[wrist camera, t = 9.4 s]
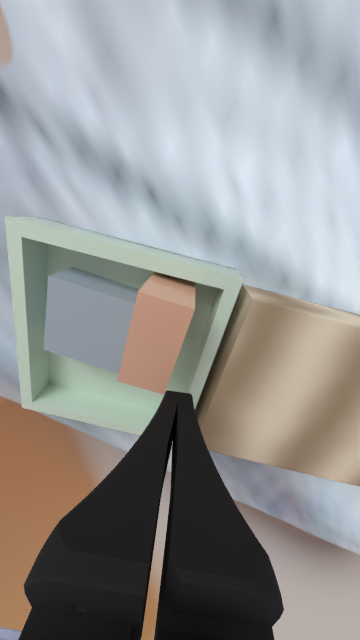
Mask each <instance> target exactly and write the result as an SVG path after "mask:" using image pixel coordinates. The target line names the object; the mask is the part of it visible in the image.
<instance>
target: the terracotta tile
mask: <svg viewBox="0 0 360 640" xmlns="http://www.w3.org/2000/svg"><path fill="white" fill-rule="evenodd" d="M195 290H196V282H193V281H189V280H185V279H181V278H177V277H174V276H170V275H166V274H162V273H158V272H154V273H153V274H152V275H151V277H150V278H149V279H148V280H147V281H146V283H145V284H144V285H143V286H142V287H141V288H140V290H139V291H138V293H137V298H136V302H135V306H134V311H133V315H132V319H131V323H130V328H129V332H128V336H127V340H126V345H125V349H124V353H123V358H122V362H121V366H120V370H119V375H118V379H117V381H118V382H122V383H125V384H128V385H132V386H135V387H139V388H142V389H146V390H149V391H153V392H156V393H160V394H163V395H164V393H165V390H166V387H167V385H168V382H169V379H170V377H171V374H172V371H173V368H174V366H175V363H176V360H177V357H178V355H179V352H180V349H181V346H182V344H183V341H184V338H185V336H186V333H187V330H188V327H189V325H190V322H191V319H192V316H193V314H194V311H195Z"/></svg>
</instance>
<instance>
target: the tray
mask: <svg viewBox="0 0 360 640" xmlns="http://www.w3.org/2000/svg"><path fill="white" fill-rule="evenodd" d="M5 226H6V237H7V248H8V259H9V270H10V281H11V292H12V303H13V314H14V325H15V336H16V347H17V358H18V369H19V380H20V391H21V402H22V408H26V409H30V410H34V411H39V412H43V413H47V414H51V415H56V416H60V417H64V418H68V419H72V420H77V421H81V422H85V423H89V424H94V425H98V426H102V427H106V428H110V429H115V430H119V431H123V432H127V433H132V434H136V435H140V436H141V434H142V433H143V432H144V430H145V429H146V427H147V426H148V424H149V423H150V421H151V419H152V418H153V416H154V414H155V413H156V411H157V409H158V407H159V405H160V403H161V401H162V399H163V397H164V395H163V394H160V393H156V392H153V391H149V390H146V389H142V388H139V387H135V386H132V385H128V384H125V383H122V382H118V381H117V379H118V375H119V373H117V372H113V371H110V370H107V369H104V368H101V367H97V366H94V365H91V364H88V363H84V362H81V361H78V360H75V359H71V358H68V357H65V356H62V355H58V354H55V353H52V352H49V351H45V350H44V334H45V319H46V303H47V287H48V275H51V274H54V273H57V272H59V271H62V270H65V269H68V268H71V267H75V268H78V269H81V270H84V271H87V272H90V273H93V274H96V275H99V276H102V277H105V278H108V279H111V280H114V281H117V282H120V283H123V284H126V285H129V286H132V287H135V288H138V289H140V288H141V287H142V286H143V285H144V284H145V283H146V281H147V280H148V279H149V278H150V277H151V275H152V274H153V273H154V272H158V273H162V274H166V275H170V276H174V277H177V278H181V279H185V280H189V281H193V282H196V290H195V311H194V314H193V316H192V319H191V322H190V325H189V327H188V330H187V333H186V336H185V338H184V341H183V344H182V346H181V349H180V352H179V355H178V357H177V360H176V363H175V366H174V368H173V371H172V374H171V377H170V379H169V382H168V385H167V387H166V390H165V392H166V391H167V390H169V391H176V392H183V393H190V394H191V395H192V397H193V404H194V409H195V408H196V405H197V403H198V400H199V397H200V395H201V392H202V389H203V387H204V384H205V381H206V379H207V376H208V373H209V371H210V368H211V365H212V363H213V360H214V357H215V355H216V352H217V349H218V347H219V344H220V341H221V339H222V336H223V333H224V331H225V328H226V325H227V323H228V320H229V317H230V315H231V312H232V309H233V307H234V304H235V301H236V299H237V296H238V293H239V291H240V288H241V285H242V283H243V280H244V279H243V278H242V276H241V275H240V274H239V272H238V271H237V270H236V269H232V268H228V267H224V266H221V265H217V264H213V263H209V262H205V261H202V260H198V259H194V258H190V257H187V256H183V255H179V254H175V253H171V252H168V251H164V250H160V249H156V248H152V247H149V246H145V245H141V244H137V243H134V242H130V241H126V240H122V239H118V238H115V237H111V236H107V235H103V234H99V233H96V232H92V231H88V230H84V229H81V228H77V227H73V226H69V225H65V224H62V223H58V222H54V221H50V220H46V219H43V218H39V217H11V216H5ZM164 394H165V393H164ZM172 443H173V441H172Z"/></svg>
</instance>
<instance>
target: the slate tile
mask: <svg viewBox="0 0 360 640" xmlns="http://www.w3.org/2000/svg"><path fill="white" fill-rule="evenodd" d="M139 290H140V289H138V288H135V287H132V286H129V285H126V284H123V283H120V282H117V281H114V280H111V279H108V278H105V277H102V276H99V275H96V274H93V273H90V272H87V271H84V270H81V269H78V268H75V267H71V268H68V269H65V270H62V271H59V272H57V273H54V274H51V275H48V287H47V303H46V319H45V334H44V350H45V351H49V352H52V353H55V354H58V355H62V356H65V357H68V358H71V359H75V360H78V361H81V362H84V363H88V364H91V365H94V366H97V367H101V368H104V369H107V370H110V371H113V372H117V373H119V370H120V366H121V362H122V358H123V353H124V349H125V345H126V340H127V336H128V332H129V328H130V323H131V319H132V315H133V311H134V306H135V302H136V298H137V293H138V291H139Z"/></svg>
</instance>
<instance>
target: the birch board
mask: <svg viewBox="0 0 360 640" xmlns="http://www.w3.org/2000/svg"><path fill="white" fill-rule="evenodd" d="M195 413H196V417H197V420H198V423H199V426H200V430H201V433H202V435H203V438H204V441H205V443H206V446H207V449H208V451H212V452H216V453H221V454H225V455H229V456H233V457H237V458H242V459H246V460H250V461H254V462H259V463H263V464H267V465H271V466H275V467H280V468H284V469H288V470H292V471H297V472H301V473H305V474H309V475H313V476H318V477H322V478H326V479H330V480H334V481H339V482H343V483H347V484H351V485H356V486H360V315H357V314H353V313H349V312H345V311H342V310H338V309H334V308H330V307H326V306H323V305H319V304H315V303H311V302H307V301H303V300H300V299H296V298H292V297H288V296H284V295H281V294H277V293H273V292H269V291H265V290H262V289H258V288H254V287H250V286H246V285H242V287H241V290H240V292H239V295H238V298H237V300H236V303H235V306H234V308H233V311H232V314H231V316H230V319H229V322H228V324H227V327H226V330H225V332H224V335H223V337H222V340H221V343H220V345H219V348H218V351H217V353H216V356H215V359H214V361H213V364H212V367H211V369H210V372H209V375H208V377H207V380H206V383H205V385H204V388H203V391H202V393H201V396H200V399H199V401H198V404H197V407H196V409H195Z"/></svg>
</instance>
